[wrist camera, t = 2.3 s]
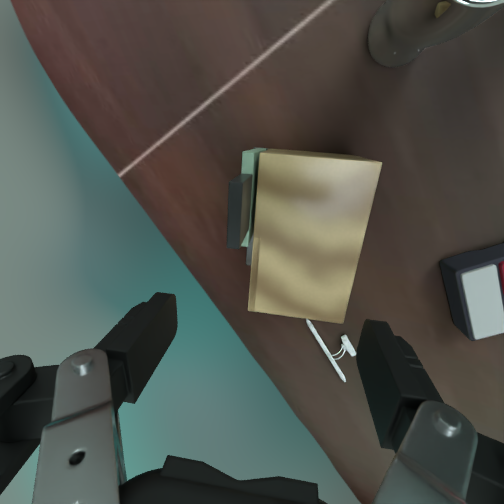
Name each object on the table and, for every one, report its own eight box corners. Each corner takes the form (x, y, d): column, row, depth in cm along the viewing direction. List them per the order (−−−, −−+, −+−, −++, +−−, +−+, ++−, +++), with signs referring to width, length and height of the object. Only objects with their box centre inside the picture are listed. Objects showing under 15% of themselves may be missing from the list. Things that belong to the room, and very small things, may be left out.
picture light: (304, 318, 42) (304, 327, 40) (330, 308, 41) (332, 316, 39) (343, 380, 46) (345, 391, 44) (368, 372, 44) (371, 383, 42)
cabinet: (254, 147, 34) (236, 150, 23) (353, 154, 32) (382, 162, 22) (246, 263, 40) (229, 308, 29) (329, 273, 39) (343, 324, 28)
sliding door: (257, 147, 33) (229, 154, 18) (266, 148, 32) (244, 155, 18) (253, 216, 36) (225, 268, 21) (260, 216, 36) (238, 270, 21)
